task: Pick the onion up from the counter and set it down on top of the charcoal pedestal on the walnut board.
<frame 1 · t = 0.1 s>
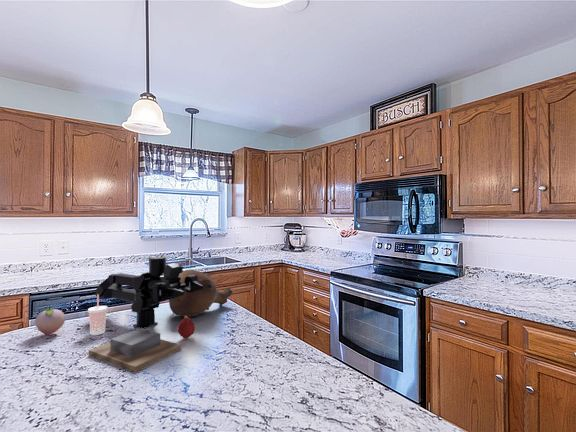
hand: (193, 290, 106), 17 cm above the countertop, fingers open, 9 cm apart
jug: (201, 313, 133), on the countertop
stacking base: (135, 352, 94), on the countertop
beverage cup: (97, 333, 110), on the countertop
decorative fruit: (50, 335, 108), on the countertop
onion: (186, 339, 105), on the countertop
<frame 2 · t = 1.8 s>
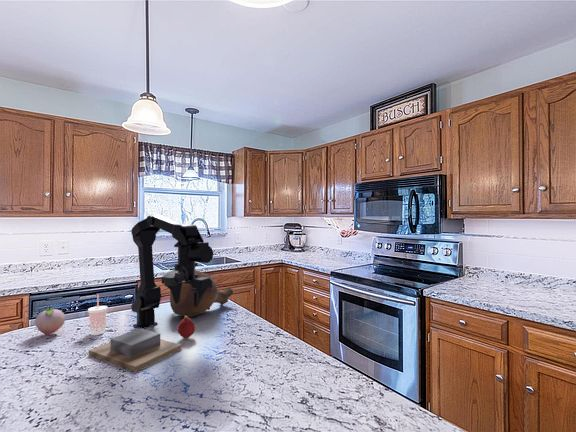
hand: (186, 305, 105), 12 cm above the countertop, fingers open, 9 cm apart
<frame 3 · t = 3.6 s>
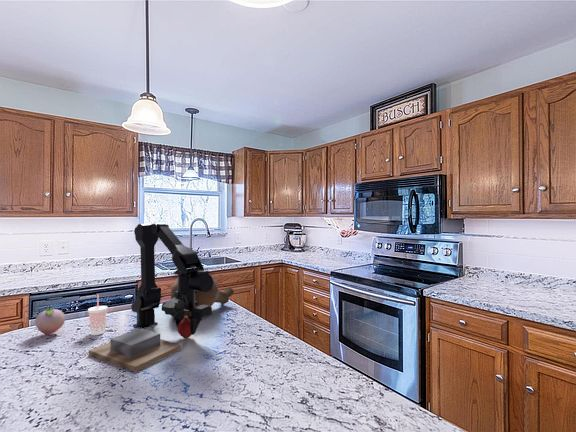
hand: (186, 332, 105), 2 cm above the countertop, fingers closed on onion, 6 cm apart
onion: (186, 339, 105), on the countertop, touching gripper
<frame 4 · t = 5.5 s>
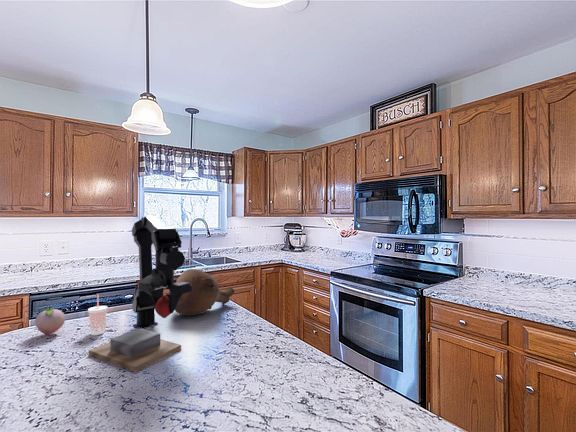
hand: (164, 311, 100), 11 cm above the countertop, fingers closed on onion, 6 cm apart
onion: (164, 318, 100), point 9 cm above the countertop, touching gripper
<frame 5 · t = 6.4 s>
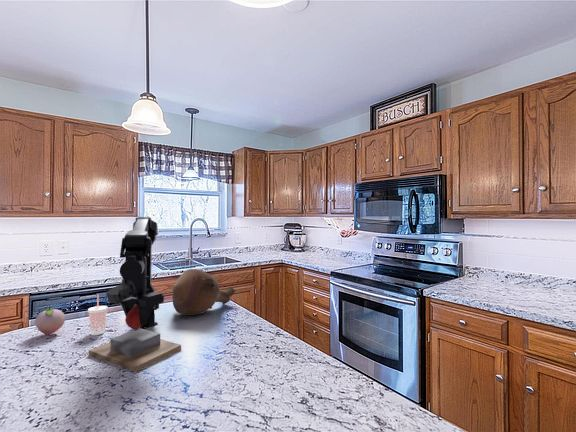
hand: (136, 323, 94), 9 cm above the countertop, fingers closed on onion, 6 cm apart
onion: (136, 330, 94), point 7 cm above the countertop, touching gripper
when the fingers open (8 cm above the countertop, at t = 7.3 s): onion drops 1 cm, resting on stacking base.
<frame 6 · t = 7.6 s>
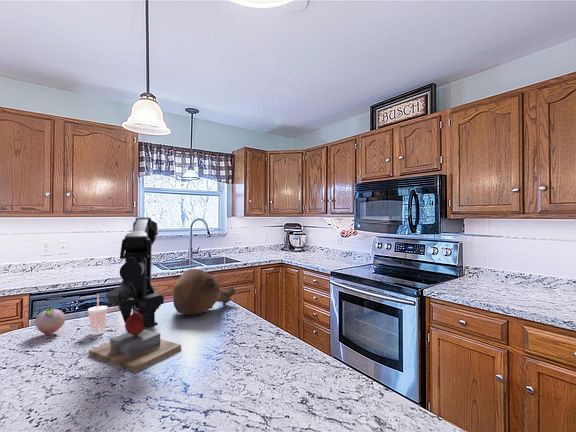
hand: (136, 325, 94), 8 cm above the countertop, fingers open, 9 cm apart
onion: (136, 336, 94), point 5 cm above the countertop, touching stacking base
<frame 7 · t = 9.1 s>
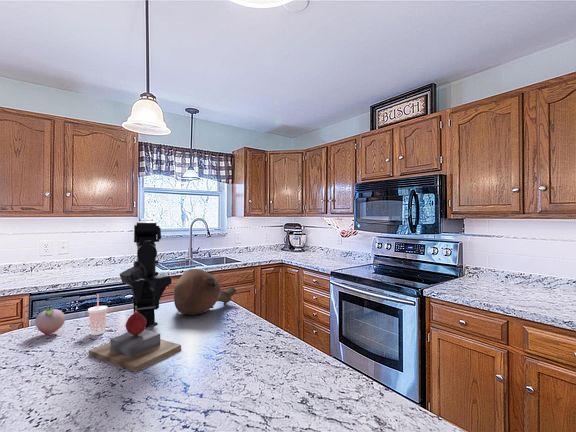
hand: (146, 303, 103), 13 cm above the countertop, fingers open, 9 cm apart
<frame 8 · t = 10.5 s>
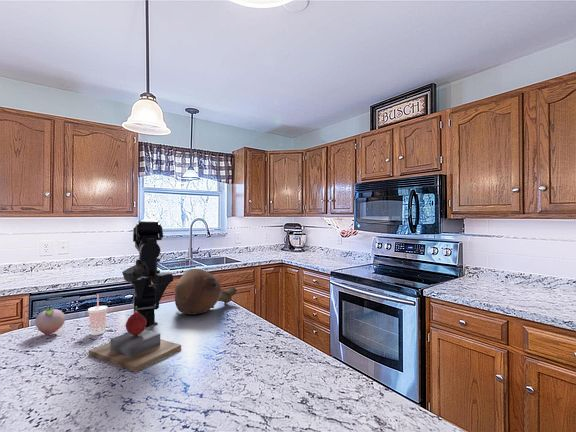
hand: (148, 301, 105), 13 cm above the countertop, fingers open, 9 cm apart
at the end: onion 0.1 cm off-centre on the stacking base, point 4.8 cm above the stacking base's base; the gripper is holding nothing; onion touching stacking base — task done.
